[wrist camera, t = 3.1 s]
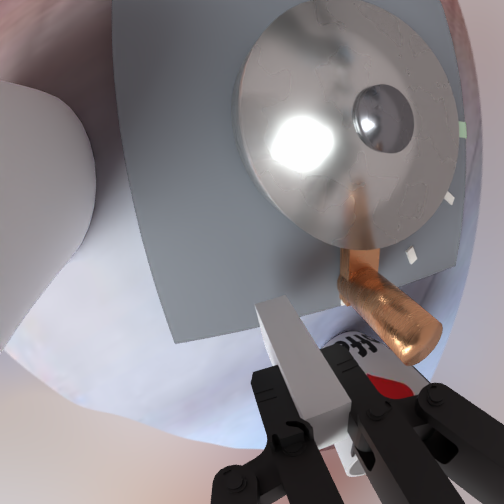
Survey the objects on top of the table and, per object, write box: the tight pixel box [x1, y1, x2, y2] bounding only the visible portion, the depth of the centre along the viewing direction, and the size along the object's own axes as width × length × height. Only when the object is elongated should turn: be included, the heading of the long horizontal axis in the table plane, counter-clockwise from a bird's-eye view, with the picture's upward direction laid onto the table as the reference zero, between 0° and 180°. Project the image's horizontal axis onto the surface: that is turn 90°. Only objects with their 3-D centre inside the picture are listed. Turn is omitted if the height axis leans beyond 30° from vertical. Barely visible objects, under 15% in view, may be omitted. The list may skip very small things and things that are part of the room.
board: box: [112, 0, 467, 344], centre depth 14 cm, size 22×22×2 cm
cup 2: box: [321, 331, 431, 477], centre depth 17 cm, size 8×8×10 cm
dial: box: [231, 0, 459, 366], centre depth 10 cm, size 16×12×6 cm
